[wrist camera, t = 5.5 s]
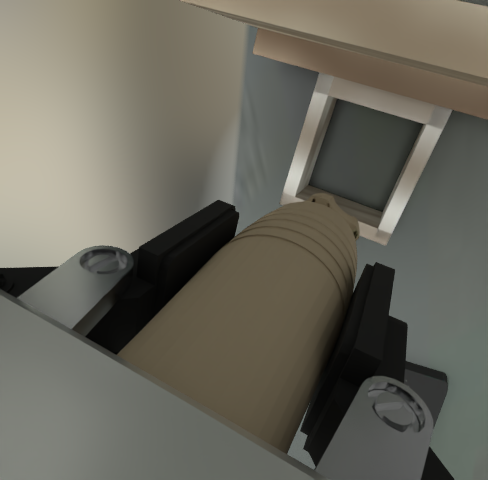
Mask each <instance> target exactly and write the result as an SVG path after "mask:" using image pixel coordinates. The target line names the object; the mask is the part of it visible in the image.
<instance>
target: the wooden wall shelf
mask: <svg viewBox="0 0 488 480" xmlns="http://www.w3.org/2000/svg"><path fill="white" fill-rule="evenodd" d="M180 1H182V2H185V3H188V4H191V5H194V6H197V7H199V8H203V9H205V10H208V11H211V12H214V13H216V14H220V15H222V16H225V17H228V18H231V19H234V20H236V21H239V22H242V23H245V24H248V25H251V26H253V27H256V28H258V31H257V35H256V40H255V44H254V49H253V54H256V55H260V56H263V57H267V58H270V59H274V60H277V61H281V62H285V63H288V64H292V65H295V66H299V67H302V68H306V69H309V70H313V71H317V72H320V73H319V76H318V80H317V83H316V86H315V89H314V93H313V96H312V99H311V102H310V106H309V109H308V112H307V115H306V119H305V122H304V125H303V128H302V132H301V135H300V138H299V141H298V145H297V148H296V151H295V154H294V158H293V161H292V164H291V167H290V171H289V174H288V177H287V181H286V184H285V187H284V190H283V194H282V197H281V200H280V203H279V204H281V205H286V204H289V203H294V202H303V201H306V200H308V199H309V197H311V196H312V195H314V194H316V193H326V194H329V195H331V196H333V197H334V201H335V202H336V204H337V205H338V206H339V207H340V208H341V209H342V210H343V211H344V212H345V213H347V214H348V215H350V216H353V217H356V218H357V220H358V223H359V228H360V234H359V235H360V236H362V237H365V238H367V239H370V240H372V241H375V242H378V243H380V244H383V245H385V246H386V244H387V242H388V240H389V238H390V236H391V234H392V232H393V230H394V228H395V226H396V224H397V222H398V220H399V218H400V216H401V214H402V212H403V210H404V208H405V206H406V204H407V202H408V200H409V198H410V196H411V194H412V191H413V189H414V187H415V185H416V183H417V181H418V179H419V177H420V175H421V173H422V171H423V169H424V167H425V165H426V163H427V161H428V159H429V157H430V155H431V153H432V151H433V149H434V147H435V145H436V143H437V141H438V139H439V137H440V134H441V132H442V130H443V128H444V126H445V124H446V122H447V120H448V118H449V116H450V114H451V112H452V110H455V111H459V112H462V113H466V114H470V115H473V116H477V117H480V118H484V119H487V120H488V7H487V6H482V5H477V4H472V3H467V2H463V1H458V0H180ZM337 98H338V99H342V100H345V101H348V102H352V103H355V104H359V105H362V106H365V107H369V108H372V109H375V110H379V111H382V112H386V113H389V114H392V115H396V116H399V117H402V118H406V119H409V120H413V121H416V122H419V123H423V126H422V128H421V130H420V132H419V134H418V137H417V139H416V141H415V143H414V145H413V147H412V150H411V152H410V154H409V156H408V158H407V160H406V163H405V165H404V167H403V169H402V171H401V173H400V176H399V178H398V180H397V182H396V184H395V186H394V189H393V191H392V193H391V195H390V197H389V199H388V202H387V204H386V206H385V208H384V210H383V212H380V211H378V210H375V209H372V208H370V207H367V206H364V205H361V204H359V203H356V202H353V201H351V200H348V199H345V198H342V197H340V196H337V195H334V194H332V193H329V192H326V191H324V190H321V189H318V188H315V187H313V186H310V185H308V184H309V181H310V178H311V175H312V172H313V169H314V166H315V163H316V160H317V157H318V154H319V151H320V148H321V145H322V142H323V139H324V136H325V134H326V131H327V128H328V125H329V122H330V119H331V116H332V113H333V110H334V107H335V104H336V101H337Z"/></svg>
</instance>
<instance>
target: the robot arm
mask: <svg viewBox="0 0 488 480" xmlns="http://www.w3.org/2000/svg"><path fill="white" fill-rule="evenodd" d="M238 219H239V212H236V211H235V206H233V205H231V204H228V203H226V202H223V201H220V200H217V201H215V202H214V203H212V204H210V205H209V206H207V207H205V208H204V209H202V210H200V211H199V212H197V213H195V214H194V215H192V216H190V217H189V218H187V219H185V220H183V221H182V222H180V223H178V224H177V225H175V226H173V227H172V228H170V229H168V230H167V231H165V232H163V233H162V234H160V235H158V236H157V237H155V238H153V239H152V240H150V241H148V242H147V243H145V244H143V245H142V246H140V247H139V249H137V250H135V251H134V252H132V253H131V254H129V253H128V252H127V251H125V250H123V249H120V248H118V247H113V246H93V247H89V248H86V249H83V250H82V251H80V252H78V253H77V254H75V255H74V256H73V257H71V258H70V259H69V260H67V261H66V262H65V263H63V264H62V265H61V266H59V267H27V268H0V480H454V478H453V477H452V476H451V474H450V473H449V472H448V470H447V469H446V468H445V466H444V465H443V464H442V462H441V461H440V460H439V458H438V457H437V456H436V455H435V453H434V452H433V451H432V449H431V448H430V447H429V445H430V441H431V437H432V433H433V419H432V416H431V413H430V410H429V409H428V407H427V406H426V404H425V402H424V401H423V400H422V399H421V398H420V397H419V396H418V395H417V394H416V392H414V391H413V390H412V389H410V388H409V387H408V386H406V385H405V384H404V376H405V360H406V344H407V328H408V327H407V323H405V322H403V321H401V320H398V319H396V318H394V317H391V316H389V308H390V302H391V295H392V288H393V281H394V274H395V269H392V268H390V267H387V266H384V265H382V264H379V263H377V262H376V263H375V264H374V266H371V265H369V264H366V266H365V268H364V270H363V272H362V275H361V277H360V279H359V281H358V283H357V286H356V288H355V290H354V292H353V294H352V297H351V301H350V304H349V307H348V309H347V314H346V317H345V320H344V322H343V324H342V329H341V331H340V334H339V337H338V339H337V342H336V344H335V347H334V349H333V352H332V354H331V356H330V359H329V361H328V363H327V365H326V367H325V370H324V372H323V374H322V376H321V379H320V381H319V383H318V385H317V387H316V390H315V392H314V394H313V396H312V399H311V401H310V404H309V407H308V410H307V413H306V416H305V418H304V421H303V424H302V427H301V430H300V431H301V432H303V433H305V434H306V435H308V436H307V439H306V442H305V445H304V448H303V449H304V450H306V451H308V452H309V454H310V456H311V458H312V460H313V462H314V464H315V466H316V467H315V469H314V470H313V469H311V468H309V467H308V466H306V465H304V464H303V463H301V462H299V461H298V460H296V459H294V458H292V457H291V456H289V455H287V454H286V453H284V452H282V451H280V450H279V449H277V448H275V447H274V446H272V445H270V444H269V443H267V442H265V441H263V440H262V439H260V438H258V437H257V436H255V435H253V434H251V433H250V432H248V431H246V430H245V429H243V428H241V427H240V426H238V425H236V424H234V423H233V422H231V421H229V420H228V419H226V418H224V417H222V416H221V415H219V414H217V413H216V412H214V411H212V410H210V409H209V408H207V407H205V406H204V405H202V404H200V403H198V402H197V401H195V400H193V399H192V398H190V397H188V396H186V395H185V394H183V393H181V392H179V391H178V390H176V389H174V388H173V387H171V386H169V385H167V384H166V383H164V382H162V381H160V380H159V379H157V378H155V377H154V376H152V375H150V374H148V373H147V372H145V371H143V370H141V369H140V368H138V367H136V366H135V365H133V364H131V363H129V362H128V361H126V360H124V359H122V358H121V357H119V356H117V354H118V353H119V352H120V351H121V350H122V349H123V348H124V347H125V346H126V345H127V344H128V343H129V342H130V341H131V340H132V339H133V338H134V337H135V336H136V335H137V334H138V333H139V332H140V331H141V330H142V329H143V328H144V327H145V326H146V325H147V324H148V323H149V322H150V321H151V320H152V319H153V318H154V317H155V316H156V315H157V314H158V313H159V311H160V310H161V309H162V308H163V307H164V306H165V305H166V304H167V303H168V302H169V301H170V300H171V299H172V298H173V297H174V296H175V295H176V294H177V293H178V292H179V291H180V290H181V289H182V288H183V287H184V286H185V285H186V283H187V282H188V281H189V280H190V279H191V278H192V277H193V276H194V275H195V274H196V273H197V272H198V271H199V270H200V269H201V268H202V267H203V266H204V265H205V264H206V263H207V262H208V261H209V260H210V259H211V258H212V256H213V255H214V254H215V253H216V252H218V251H219V250H220V249H221V248H222V247H223V246H225V245H226V244H227V243H228V242H229V241H231V240H232V239H233V238H234V236H235V232H236V228H237V224H238Z"/></svg>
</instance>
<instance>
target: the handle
mask: <svg viewBox="0 0 488 480" xmlns="http://www.w3.org/2000/svg"><path fill="white" fill-rule="evenodd" d="M359 234H360V228H359V223H358V220H357V218H356V217H353V216H350V215H348V214H347V213H345V212H344V211H343V210H342V209H341V208H340V207H339V206H338V205H337V204H336V202H335V201H334V197H333V196H331V195H329V194H326V193H316V194H314V195H312V196H311V197H309V199H308V200H306V201H303V202H294V203H289V204H286V205H284V206H282V207H280V208H278V209H276V210H274V211H272V212H271V213H269V214H267V215H265V216H263V217H262V218H260V219H259V220H257V221H256V222H254V223H253V224H251V225H250V226H248V227H247V228H245V229H244V230H243V231H242V232H240V233H239V234H238V235H237V236H235V237H234V238H233V239H232V240H231V241H229V242H228V243H227V244H226V245H225V246H223V247H222V248H221V249H220V250H219V251H218V252H216V253H215V254H214V255H213V256H212V258H211V259H210V260H209V261H208V262H207V263H206V264H205V265H204V266H203V267H202V268H201V269H200V270H199V271H198V272H197V273H196V274H195V275H194V276H193V277H192V278H191V279H190V280H189V281H188V282H187V283H186V285H185V286H184V287H183V288H182V289H181V290H180V291H179V292H178V293H177V294H176V295H175V296H174V297H173V298H172V299H171V300H170V301H169V302H168V303H167V304H166V305H165V306H164V307H163V308H162V309H161V310H160V311H159V313H158V314H157V315H156V316H155V317H154V318H153V319H152V320H151V321H150V322H149V323H148V324H147V325H146V326H145V327H144V328H143V329H142V330H141V331H140V332H139V333H138V334H137V335H136V336H135V337H134V338H133V339H132V340H131V341H130V342H129V343H128V344H127V345H126V346H125V347H124V348H123V349H122V350H121V351H120V352H119V353H118V354H117V356H119V357H121V358H122V359H124V360H126V361H128V362H129V363H131V364H133V365H135V366H136V367H138V368H140V369H141V370H143V371H145V372H147V373H148V374H150V375H152V376H154V377H155V378H157V379H159V380H160V381H162V382H164V383H166V384H167V385H169V386H171V387H173V388H174V389H176V390H178V391H179V392H181V393H183V394H185V395H186V396H188V397H190V398H192V399H193V400H195V401H197V402H198V403H200V404H202V405H204V406H205V407H207V408H209V409H210V410H212V411H214V412H216V413H217V414H219V415H221V416H222V417H224V418H226V419H228V420H229V421H231V422H233V423H234V424H236V425H238V426H240V427H241V428H243V429H245V430H246V431H248V432H250V433H251V434H253V435H255V436H257V437H258V438H260V439H262V440H263V441H265V442H267V443H269V444H270V445H272V446H274V447H275V448H277V449H279V450H280V451H282V452H284V453H286V454H287V453H288V450H289V448H290V446H291V443H292V441H293V439H294V436H295V434H296V432H297V430H298V428H299V425H300V423H301V421H302V419H303V416H304V414H305V412H306V410H307V408H308V405H309V403H310V401H311V399H312V396H313V394H314V392H315V390H316V387H317V385H318V383H319V381H320V379H321V376H322V374H323V372H324V370H325V367H326V365H327V363H328V361H329V359H330V356H331V354H332V352H333V349H334V347H335V344H336V342H337V339H338V337H339V334H340V331H341V329H342V324H343V322H344V320H345V317H346V314H347V309H348V307H349V304H350V301H351V297H352V294H353V289H354V283H355V276H356V270H357V249H356V240H357V239H358V238H359Z"/></svg>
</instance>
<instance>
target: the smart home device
mask: <svg viewBox="0 0 488 480" xmlns="http://www.w3.org/2000/svg"><path fill="white" fill-rule="evenodd" d="M404 384H405V385H406V386H408V387H409V388H410V389H412V390H413V391H414V392H416V394H417V395H418V396H419V397H420V398H421V399H422V400H423V401H424V402H425V404H426V406H427V407H428V409H429V410H430V413H431V416H432V419H433V429H434V426H435V423H436V421H437V418H438V415H439V413H440V410H441V407H442V405H443V402H444V399H445V397H446V394H447V390H448V385H447V376H446V374H445V373H443V372H440V371H437V370H433V369H430V368H427V367H423V366H420V365H417V364H413V363H410V362H407V361H405V376H404Z"/></svg>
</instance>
